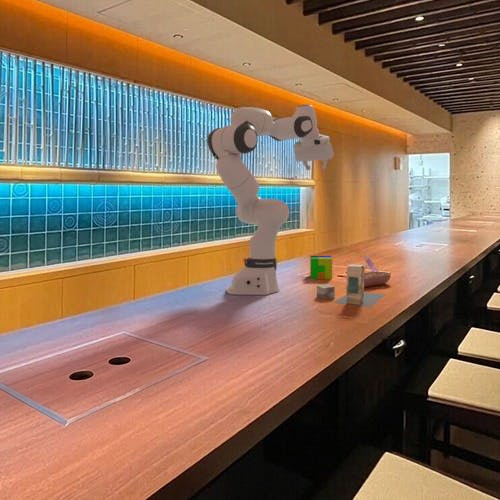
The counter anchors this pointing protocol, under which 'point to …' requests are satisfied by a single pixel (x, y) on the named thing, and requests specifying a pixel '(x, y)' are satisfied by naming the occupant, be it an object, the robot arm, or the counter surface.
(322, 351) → the counter surface
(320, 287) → the grey block
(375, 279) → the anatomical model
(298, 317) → the counter surface
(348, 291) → the maple block
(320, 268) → the puzzle toy
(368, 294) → the slate mat
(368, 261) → the lily
